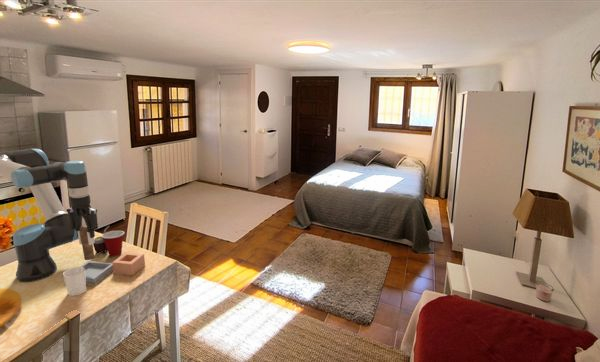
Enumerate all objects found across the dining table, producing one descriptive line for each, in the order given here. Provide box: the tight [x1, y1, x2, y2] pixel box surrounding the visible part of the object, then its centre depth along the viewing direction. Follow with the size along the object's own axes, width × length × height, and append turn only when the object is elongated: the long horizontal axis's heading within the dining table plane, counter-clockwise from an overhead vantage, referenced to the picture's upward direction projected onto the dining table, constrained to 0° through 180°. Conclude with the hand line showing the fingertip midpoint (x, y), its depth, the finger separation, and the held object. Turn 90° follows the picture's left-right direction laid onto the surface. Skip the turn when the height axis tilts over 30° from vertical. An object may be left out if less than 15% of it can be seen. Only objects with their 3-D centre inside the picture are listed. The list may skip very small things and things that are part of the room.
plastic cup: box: [100, 230, 125, 257], centre depth 173 cm, size 11×11×12 cm
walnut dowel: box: [79, 224, 95, 261], centre depth 149 cm, size 4×4×16 cm
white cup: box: [62, 266, 87, 297], centre depth 140 cm, size 8×8×10 cm
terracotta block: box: [111, 252, 146, 276], centre depth 159 cm, size 10×10×6 cm
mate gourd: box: [93, 225, 110, 255], centre depth 174 cm, size 8×8×15 cm
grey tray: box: [79, 260, 114, 285], centre depth 154 cm, size 14×14×3 cm
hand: (87, 243), depth 149 cm, fingers closed on walnut dowel, 4 cm apart
